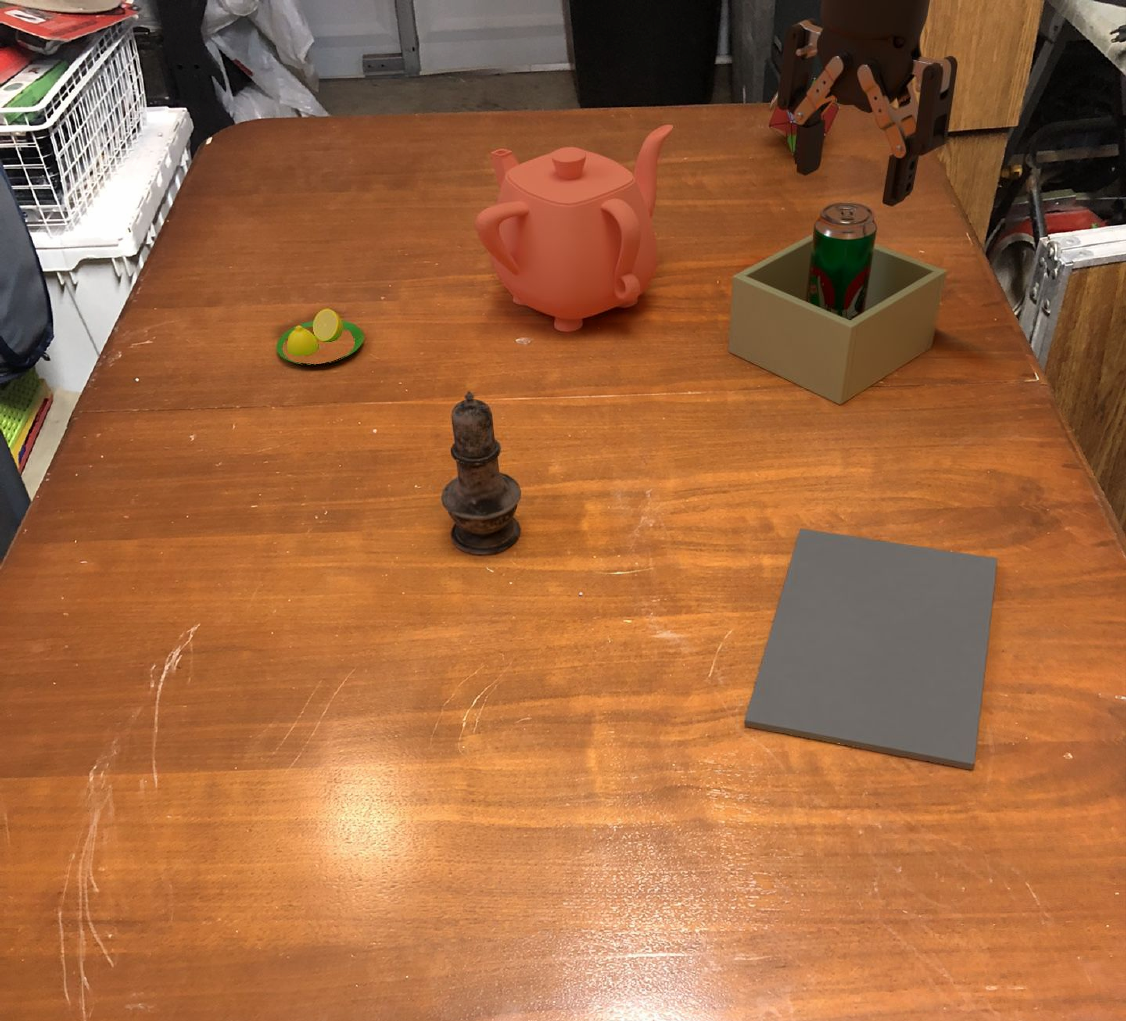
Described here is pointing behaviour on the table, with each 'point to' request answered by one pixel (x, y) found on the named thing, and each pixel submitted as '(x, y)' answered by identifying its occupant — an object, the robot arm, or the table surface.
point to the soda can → (841, 259)
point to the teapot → (574, 230)
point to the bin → (833, 321)
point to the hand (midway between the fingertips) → (849, 186)
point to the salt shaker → (479, 484)
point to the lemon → (317, 335)
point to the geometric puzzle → (788, 124)
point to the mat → (878, 648)
